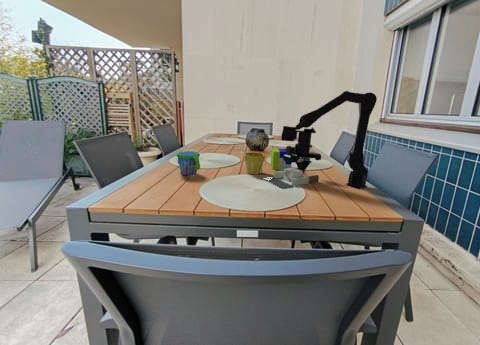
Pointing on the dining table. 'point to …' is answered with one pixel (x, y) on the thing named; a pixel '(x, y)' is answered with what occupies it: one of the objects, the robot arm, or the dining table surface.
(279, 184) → the trap pit mat
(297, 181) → the lane rails
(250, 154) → the plant pot
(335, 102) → the robot arm
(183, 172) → the snack cup
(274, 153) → the puzzle toy
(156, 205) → the dining table surface
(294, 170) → the grey block
